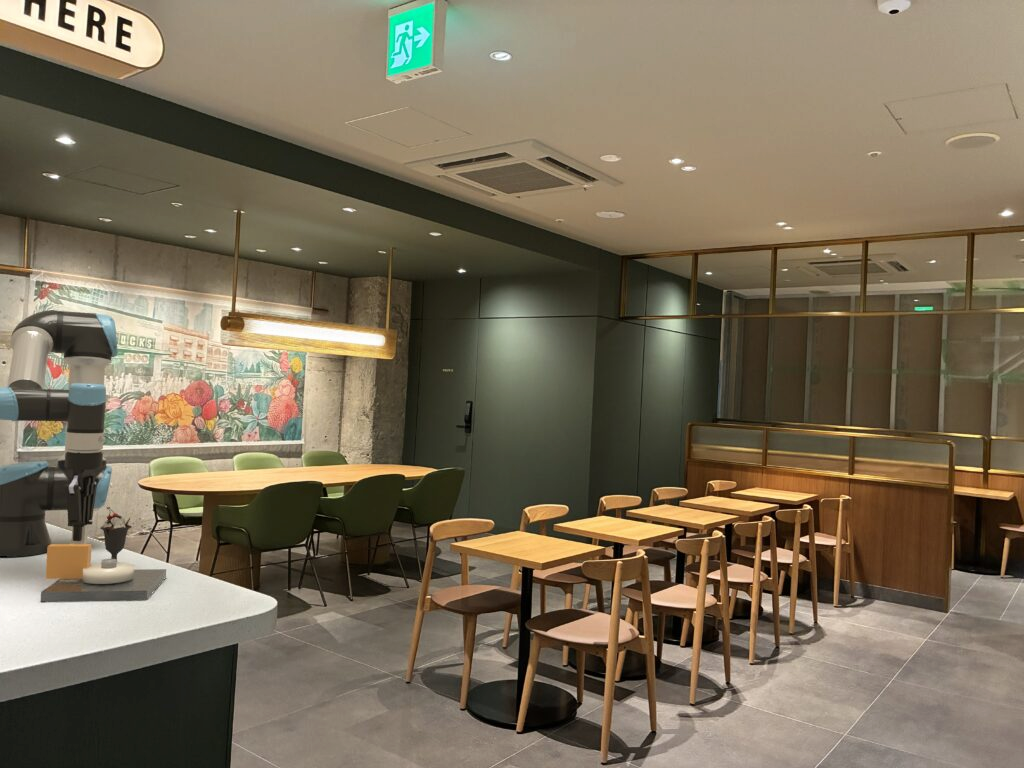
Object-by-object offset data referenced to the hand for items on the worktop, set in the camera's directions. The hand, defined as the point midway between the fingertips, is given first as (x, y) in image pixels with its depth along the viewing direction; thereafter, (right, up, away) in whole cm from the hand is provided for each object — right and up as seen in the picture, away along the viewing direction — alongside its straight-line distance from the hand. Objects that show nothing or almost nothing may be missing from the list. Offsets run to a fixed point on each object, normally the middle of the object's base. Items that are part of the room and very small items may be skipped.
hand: (78, 554), depth 176 cm
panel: (+10, -6, -7) cm, 14 cm away
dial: (+7, -4, -7) cm, 11 cm away
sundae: (+1, -6, +13) cm, 15 cm away
